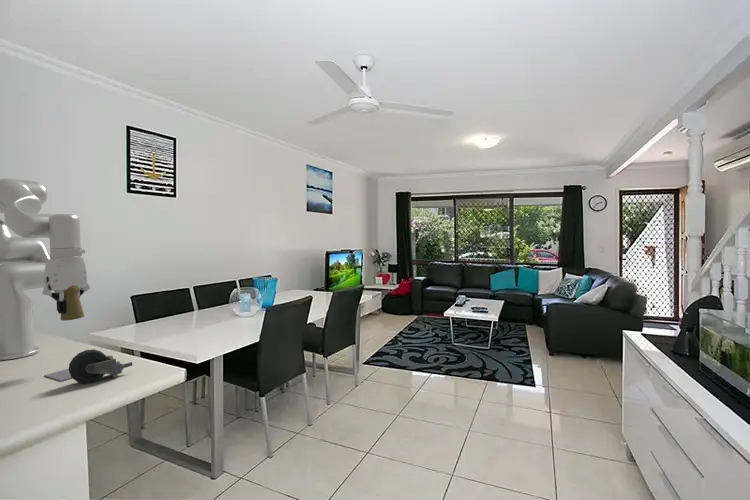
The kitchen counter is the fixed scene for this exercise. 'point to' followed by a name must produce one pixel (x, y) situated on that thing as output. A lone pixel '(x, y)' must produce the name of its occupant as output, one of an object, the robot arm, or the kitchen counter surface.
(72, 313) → the cork
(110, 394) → the kitchen counter surface
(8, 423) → the kitchen counter surface
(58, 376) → the mat
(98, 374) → the caster wheel
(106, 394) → the kitchen counter surface
